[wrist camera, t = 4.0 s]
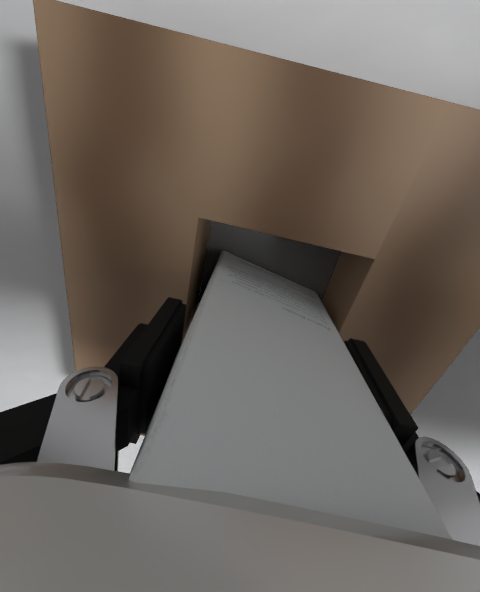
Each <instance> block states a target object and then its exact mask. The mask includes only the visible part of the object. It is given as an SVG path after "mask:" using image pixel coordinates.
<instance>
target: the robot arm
mask: <svg viewBox="0 0 480 592" xmlns="http://www.w3.org/2000/svg"><path fill="white" fill-rule="evenodd" d="M185 314H186V304H182V300H180V299H176V298H171V297H168V298H167V299H166V301H165V302H164V304H163V305H162V306H161V308H160V309H159V310H158V312H157V313H156V314H155V316H154V317H153V318H152V320H151V321H150V322H149V324H143V323H140V324H138V325H137V326H136V328H135V329H134V330H133V331H132V333H131V334H130V335H129V336H128V338H127V339H126V340H125V341H124V343H123V344H122V345H121V346H120V348H119V349H118V350H117V351H116V353H115V354H114V355H113V356H112V358H111V359H110V360H109V361H108V363H107V364H106V365H105V366H104V367H99V366H92V367H87V368H83V369H80V370H78V371H75V372H74V373H72V374H70V375H69V376H67V377H66V378H65V379H64V380H63V381H62V383H61V385H60V387H59V389H58V392H57V393H56V394H53V395H50V396H48V397H45V398H42V399H39V400H36V401H33V402H30V403H27V404H24V405H21V406H18V407H15V408H12V409H9V410H6V411H3V412H0V592H480V494H479V493H478V492H477V491H476V490H475V487H474V483H473V480H472V477H471V475H470V473H469V470H468V468H467V467H466V466H465V464H464V463H463V462H462V460H461V459H460V458H459V457H458V456H457V455H456V454H455V453H454V452H453V451H451V450H450V449H449V448H448V447H447V446H445V445H443V444H442V443H440V442H439V441H436V440H434V439H432V438H428V437H418V435H417V434H416V430H417V429H418V427H417V425H416V423H415V422H414V420H413V419H412V417H411V415H410V414H409V412H408V410H407V409H406V407H405V406H404V404H403V402H402V401H401V399H400V397H399V396H398V394H397V392H396V391H395V389H394V388H393V386H392V384H391V383H390V381H389V379H388V378H387V376H386V375H385V373H384V371H383V370H382V368H381V366H380V365H379V363H378V362H377V360H376V358H375V357H374V355H373V353H372V352H371V350H370V348H369V347H368V345H367V344H366V342H364V341H361V340H356V339H352V338H350V339H349V340H348V341H344V343H345V345H346V347H347V349H348V351H349V353H350V354H351V356H352V358H353V360H354V362H355V364H356V365H357V367H358V369H359V371H360V373H361V374H362V376H363V378H364V380H365V382H366V384H367V385H368V387H369V389H370V391H371V393H372V394H373V396H374V398H375V400H376V402H377V404H378V405H379V407H380V409H381V411H382V413H383V414H384V416H385V418H386V420H387V422H388V423H389V425H390V427H391V429H392V431H393V432H394V434H395V436H396V438H397V440H398V442H399V443H400V445H401V447H402V449H403V451H404V453H405V454H406V456H407V458H408V460H409V461H410V463H411V465H412V467H413V468H414V470H415V472H416V474H417V476H418V478H419V479H420V481H421V483H422V485H423V487H424V489H425V490H426V492H427V494H428V496H429V498H430V500H431V501H432V503H433V505H434V507H435V509H436V510H437V512H438V514H439V516H440V517H441V519H442V521H443V523H444V525H445V527H446V529H447V531H448V533H449V535H450V536H451V538H452V540H451V539H447V538H442V537H438V536H434V535H429V534H424V533H420V532H415V531H410V530H405V529H401V528H396V527H391V526H387V525H382V524H377V523H372V522H368V521H363V520H358V519H353V518H349V517H344V516H339V515H334V514H329V513H324V512H320V511H315V510H310V509H305V508H300V507H295V506H290V505H285V504H281V503H276V502H271V501H266V500H261V499H256V498H251V497H246V496H241V495H236V494H231V493H226V492H218V491H209V490H200V489H191V488H182V487H173V486H164V485H155V484H145V483H136V482H133V481H130V479H129V477H130V474H129V473H123V472H118V458H119V450H121V449H123V448H125V447H126V446H128V444H129V442H130V443H135V444H136V443H137V441H138V438H139V436H140V434H146V433H147V430H148V428H149V425H150V422H151V420H152V417H153V415H154V412H155V410H156V407H157V405H158V402H159V400H160V397H161V395H162V392H163V389H164V387H165V384H166V382H167V379H168V376H169V374H170V371H171V369H172V366H173V363H174V361H175V358H176V356H177V353H178V351H179V349H180V347H181V343H182V336H183V328H184V321H185Z"/></svg>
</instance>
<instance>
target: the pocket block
mask: <svg viewBox="0 0 480 592" xmlns="http://www.w3.org/2000/svg"><path fill="white" fill-rule="evenodd" d="M33 5H34V13H35V22H36V31H37V39H38V48H39V57H40V65H41V74H42V83H43V91H44V100H45V109H46V117H47V126H48V135H49V143H50V152H51V160H52V169H53V178H54V186H55V195H56V204H57V212H58V221H59V230H60V238H61V247H62V256H63V264H64V273H65V282H66V290H67V299H68V308H69V316H70V325H71V333H72V342H73V351H74V359H75V368H76V371H78V370H80V369H83V368H87V367H92V366H99V367H104V366H105V365H106V364H107V363H108V361H109V360H110V359H111V358H112V356H113V355H114V354H115V353H116V351H117V350H118V349H119V348H120V346H121V345H122V344H123V343H124V341H125V340H126V339H127V338H128V336H129V335H130V334H131V333H132V331H133V330H134V329H135V328H136V326H137V325H138V324H140V323H143V324H149V322H150V321H151V320H152V318H153V317H154V316H155V314H156V313H157V312H158V310H159V309H160V308H161V306H162V305H163V304H164V302H165V301H166V299H167V298H168V297H171V298H176V299H180V300H182V304H186V314H185V321H184V328H183V336H182V342H183V340H184V338H185V335H186V333H187V331H188V329H189V326H190V324H191V322H192V320H193V317H194V315H195V313H196V310H197V308H198V302H199V296H200V289H201V283H202V277H203V271H204V264H205V258H206V252H207V245H208V239H209V233H210V227H211V221H215V222H220V223H224V224H228V225H232V226H237V227H241V228H245V229H249V230H253V231H258V232H262V233H266V234H270V235H275V236H279V237H283V238H287V239H291V240H296V241H300V242H304V243H308V244H313V245H317V246H321V247H325V248H329V249H334V250H338V251H341V254H340V256H339V258H338V261H337V263H336V266H335V268H334V270H333V273H332V275H331V278H330V280H329V282H328V285H327V287H326V290H325V292H324V294H323V297H322V299H321V302H322V303H323V305H324V307H325V309H326V311H327V313H328V315H329V317H330V318H331V320H332V322H333V324H334V325H335V327H336V329H337V331H338V333H339V334H340V336H341V338H342V340H343V342H344V341H348V340H349V339H350V338H352V339H356V340H361V341H364V342H366V344H367V345H368V347H369V348H370V350H371V352H372V353H373V355H374V357H375V358H376V360H377V362H378V363H379V365H380V366H381V368H382V370H383V371H384V373H385V375H386V376H387V378H388V379H389V381H390V383H391V384H392V386H393V388H394V389H395V391H396V392H397V394H398V396H399V397H400V399H401V401H402V402H403V404H404V406H405V407H406V409H407V410H408V412H409V414H411V413H412V412H413V411H414V409H415V408H416V407H417V406H418V404H419V403H420V402H421V400H422V399H423V398H424V397H425V395H426V394H427V393H428V392H429V390H430V389H431V388H432V387H433V385H434V384H435V383H436V382H437V380H438V379H439V378H440V377H441V375H442V374H443V373H444V372H445V370H446V369H447V368H448V366H449V365H450V364H451V363H452V361H453V360H454V359H455V358H456V356H457V355H458V354H459V353H460V351H461V350H462V349H463V348H464V346H465V345H466V344H467V343H468V341H469V340H470V339H471V338H472V336H473V335H474V334H475V332H476V331H477V330H478V329H479V327H480V110H478V109H475V108H471V107H467V106H463V105H459V104H455V103H451V102H447V101H444V100H440V99H436V98H432V97H428V96H424V95H420V94H416V93H413V92H409V91H405V90H401V89H397V88H393V87H389V86H385V85H382V84H378V83H374V82H370V81H366V80H362V79H358V78H354V77H351V76H347V75H343V74H339V73H335V72H331V71H327V70H323V69H320V68H316V67H312V66H308V65H304V64H300V63H296V62H292V61H288V60H285V59H281V58H277V57H273V56H269V55H265V54H261V53H257V52H254V51H250V50H246V49H242V48H238V47H234V46H230V45H226V44H223V43H219V42H215V41H211V40H207V39H203V38H199V37H195V36H192V35H188V34H184V33H180V32H176V31H172V30H168V29H164V28H161V27H157V26H153V25H149V24H145V23H141V22H137V21H133V20H129V19H126V18H122V17H118V16H114V15H110V14H106V13H102V12H98V11H95V10H91V9H87V8H83V7H79V6H75V5H71V4H67V3H64V2H60V1H56V0H33ZM181 344H182V343H181ZM140 435H143V436H145V435H146V434H140Z"/></svg>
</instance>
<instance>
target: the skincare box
mask: <svg viewBox="0 0 480 592" xmlns="http://www.w3.org/2000/svg"><path fill="white" fill-rule="evenodd" d="M129 479H130V481H133V482H136V483H145V484H155V485H164V486H173V487H182V488H191V489H200V490H209V491H218V492H226V493H231V494H236V495H241V496H246V497H251V498H256V499H261V500H266V501H271V502H276V503H281V504H285V505H290V506H295V507H300V508H305V509H310V510H315V511H320V512H324V513H329V514H334V515H339V516H344V517H349V518H353V519H358V520H363V521H368V522H372V523H377V524H382V525H387V526H391V527H396V528H401V529H405V530H410V531H415V532H420V533H424V534H429V535H434V536H438V537H442V538H447V539H451V540H452V538H451V536H450V535H449V533H448V531H447V529H446V527H445V525H444V523H443V521H442V519H441V517H440V516H439V514H438V512H437V510H436V509H435V507H434V505H433V503H432V501H431V500H430V498H429V496H428V494H427V492H426V490H425V489H424V487H423V485H422V483H421V481H420V479H419V478H418V476H417V474H416V472H415V470H414V468H413V467H412V465H411V463H410V461H409V460H408V458H407V456H406V454H405V453H404V451H403V449H402V447H401V445H400V443H399V442H398V440H397V438H396V436H395V434H394V432H393V431H392V429H391V427H390V425H389V423H388V422H387V420H386V418H385V416H384V414H383V413H382V411H381V409H380V407H379V405H378V404H377V402H376V400H375V398H374V396H373V394H372V393H371V391H370V389H369V387H368V385H367V384H366V382H365V380H364V378H363V376H362V374H361V373H360V371H359V369H358V367H357V365H356V364H355V362H354V360H353V358H352V356H351V354H350V353H349V351H348V349H347V347H346V345H345V343H344V342H343V340H342V338H341V336H340V334H339V333H338V331H337V329H336V327H335V325H334V324H333V322H332V320H331V318H330V317H329V315H328V313H327V311H326V309H325V307H324V305H323V303H322V302H321V300H320V298H319V296H318V294H317V293H316V292H315V291H313V290H311V289H308V288H306V287H304V286H302V285H299V284H297V283H295V282H293V281H290V280H288V279H286V278H284V277H282V276H279V275H277V274H275V273H273V272H270V271H268V270H266V269H264V268H261V267H259V266H257V265H255V264H253V263H250V262H248V261H246V260H244V259H242V258H239V257H237V256H235V255H233V254H231V253H228V252H226V251H223V252H221V254H220V257H219V259H218V261H217V264H216V266H215V268H214V270H213V273H212V275H211V277H210V280H209V282H208V284H207V287H206V289H205V292H204V294H203V296H202V299H201V301H200V303H199V306H198V308H197V310H196V313H195V315H194V317H193V320H192V322H191V324H190V326H189V329H188V331H187V333H186V335H185V338H184V340H183V342H182V344H181V347H180V349H179V351H178V353H177V356H176V358H175V361H174V363H173V366H172V369H171V371H170V374H169V376H168V379H167V382H166V384H165V387H164V389H163V392H162V395H161V397H160V400H159V402H158V405H157V407H156V410H155V412H154V415H153V417H152V420H151V422H150V425H149V428H148V430H147V433H146V435H145V438H144V440H143V442H142V445H141V447H140V450H139V452H138V455H137V457H136V460H135V462H134V465H133V467H132V470H131V472H130V477H129Z"/></svg>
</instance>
